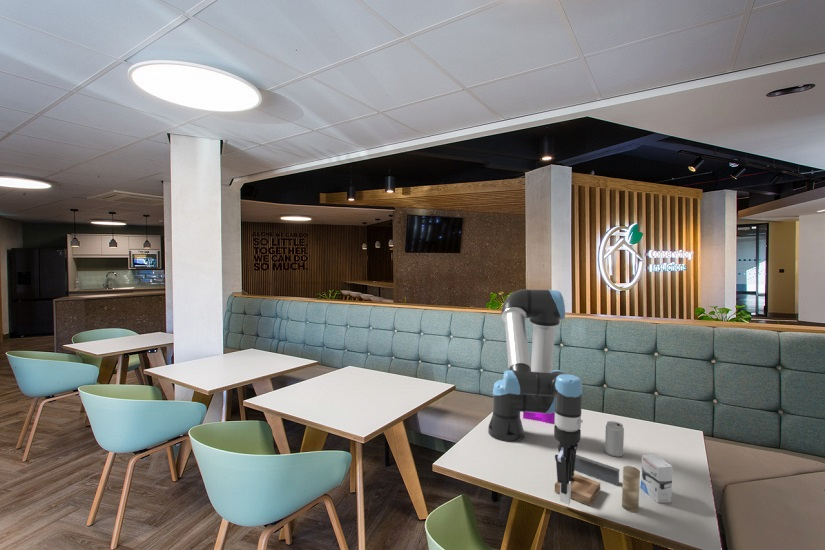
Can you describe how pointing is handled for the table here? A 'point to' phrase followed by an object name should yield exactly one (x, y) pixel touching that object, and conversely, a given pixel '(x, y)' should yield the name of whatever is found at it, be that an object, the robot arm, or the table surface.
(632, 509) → the dowel
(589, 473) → the backstop rail
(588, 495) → the wooden square tray
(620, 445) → the beverage can
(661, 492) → the ink box
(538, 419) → the tape dispenser
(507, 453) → the table surface
